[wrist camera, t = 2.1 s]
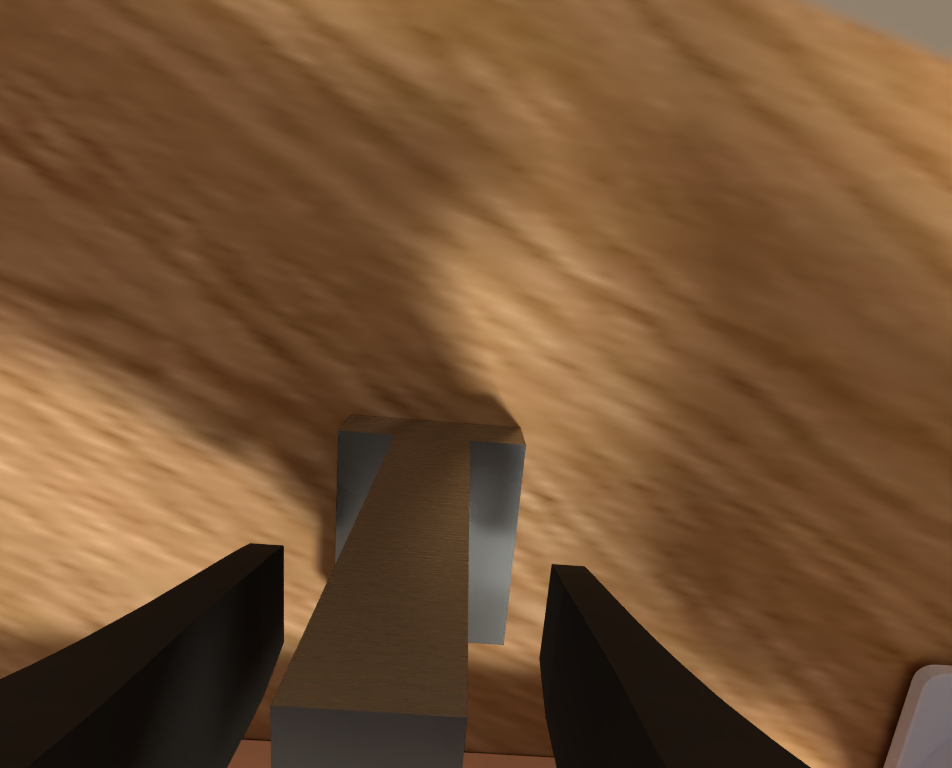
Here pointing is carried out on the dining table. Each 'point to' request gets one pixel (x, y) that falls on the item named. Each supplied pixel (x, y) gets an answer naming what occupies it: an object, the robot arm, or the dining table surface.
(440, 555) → the brushed metal prism
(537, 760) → the holder block
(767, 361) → the dining table surface
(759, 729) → the robot arm
